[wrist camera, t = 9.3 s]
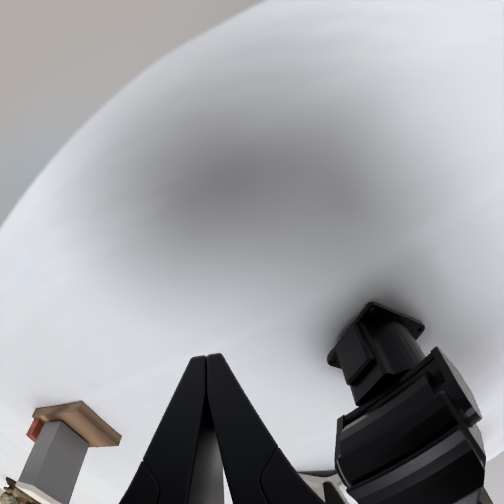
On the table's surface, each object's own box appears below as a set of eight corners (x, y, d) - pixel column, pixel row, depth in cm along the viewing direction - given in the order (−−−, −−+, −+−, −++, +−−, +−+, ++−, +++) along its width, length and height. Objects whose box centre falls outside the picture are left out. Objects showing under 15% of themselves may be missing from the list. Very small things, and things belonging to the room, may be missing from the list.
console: (82, 401, 28) (68, 431, 23) (121, 436, 30) (112, 465, 26) (36, 408, 29) (23, 432, 25) (70, 439, 32) (61, 463, 28)
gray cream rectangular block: (61, 420, 27) (31, 490, 17) (90, 444, 29) (67, 513, 19) (44, 421, 28) (15, 485, 18) (71, 445, 30) (48, 507, 20)
